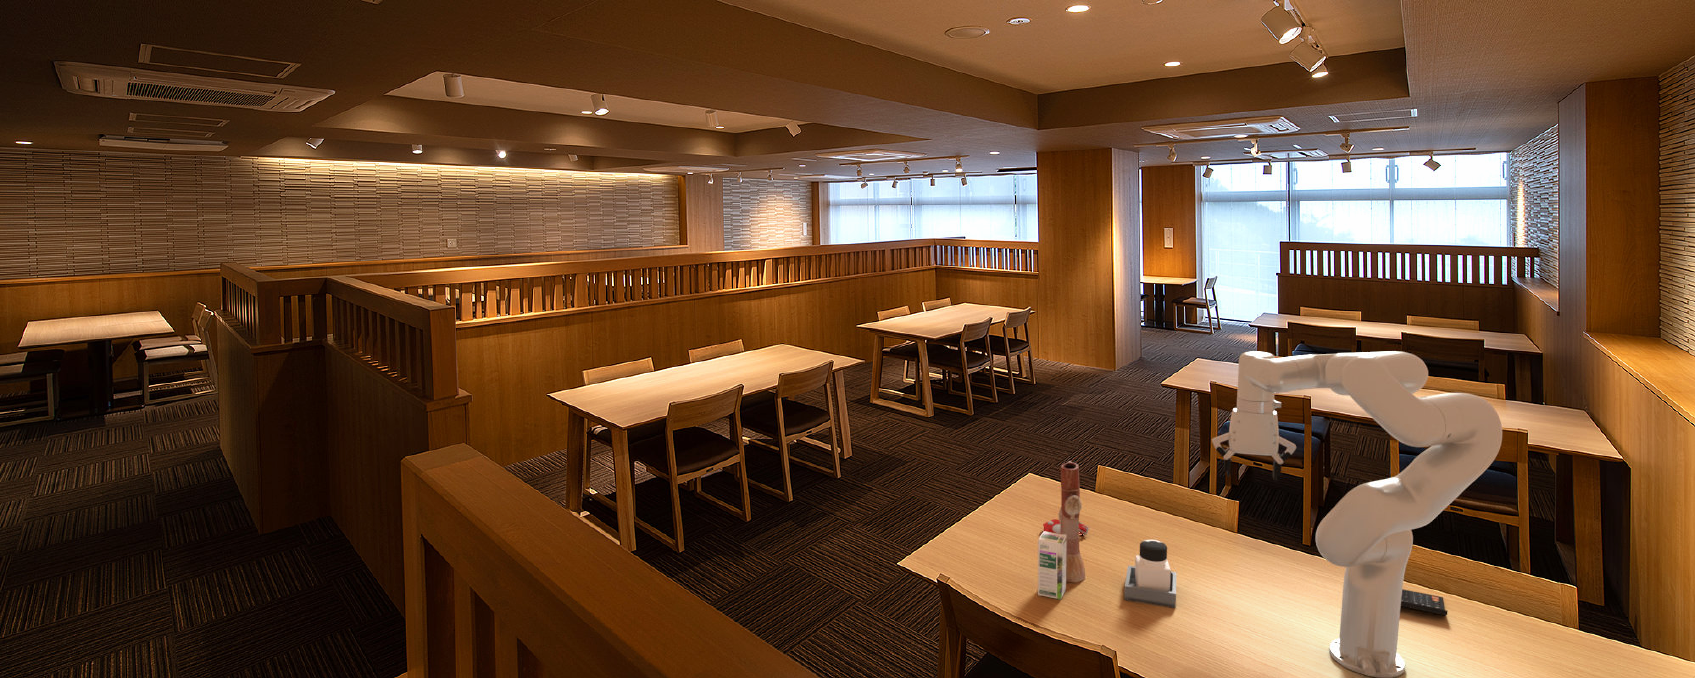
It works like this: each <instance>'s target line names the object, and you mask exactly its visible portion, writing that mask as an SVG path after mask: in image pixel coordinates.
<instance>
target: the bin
mask: <svg viewBox="0 0 1695 678" xmlns="http://www.w3.org/2000/svg"><path fill="white" fill-rule="evenodd" d="M1124 583H1125V584H1124V601H1127V602H1128V601H1129V602H1135V603H1142V604H1148V605H1153V606H1161V607H1167V608H1174V609H1177V608H1176V607H1177V605H1176V603H1177V572H1176V571H1171V592H1170V591H1164V590H1157V589H1151V588H1144V587H1137V586H1136V584H1135V566H1134V565H1127V571H1126V576H1125V582H1124Z"/></svg>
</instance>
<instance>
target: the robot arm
mask: <svg viewBox="0 0 1695 678" xmlns="http://www.w3.org/2000/svg"><path fill="white" fill-rule="evenodd" d="M1237 376H1238V377H1237V393H1236V395H1237V396H1236V407H1234V408H1233V409H1232V411H1231V415H1230V419H1229V429H1228V432H1226V433H1224V434H1221V435H1217V436H1215V437H1213V438H1212V439H1211V442H1212V444H1213V447H1214V449H1216V452H1217V453H1218V454H1219V455H1220V457H1222V458H1223V472H1226V474H1227V475H1226V476H1227V477H1231V476H1232V458H1231V457H1233V455H1235V454H1244V455H1254V456H1255V455H1257V456H1271V457H1272V458H1273V461H1272V464H1273V465H1272V479H1273V480H1274V481H1278V480H1279V479H1278V478H1279V477H1281V475H1282V464H1284V462H1286V461H1287V460H1288V459H1290V458H1291V456H1292V455H1293V453H1295V451H1296V449H1297V446H1296V444H1295V443H1294V442H1291V441H1289V440H1287V439H1286V438H1283V437H1281V436H1280V434H1279V432H1280V431H1279V430H1280V429H1279V421H1278V420H1279V419H1278V418H1279V417H1278V412H1277V411H1276V409H1278V408H1279V409H1281V408H1282V402H1281V401H1277V400H1276V399H1275V394H1279V393H1280V394H1281V393H1289V392H1294V391H1302V390H1312V389H1330V390H1331V391H1332V392H1333V393H1335V394H1337V395H1338V396H1339V395H1340V396H1349V397H1350V398H1351V399H1352V400H1353V401H1354V403H1355V404H1356V405H1358V406H1359V407H1360V408H1361V409H1362V410H1364V412H1365V413H1366V414H1368V416H1369V417H1371V418H1372V419H1373V420H1374V421H1375V422H1376V423H1377V424H1378V425H1380V427H1381V428H1382V429H1384V430H1385V432H1386V433H1388V434H1389V435H1390V436H1391V437H1392V438H1394V439H1396V440H1397V441H1399V442H1400V443H1402V444H1403V445H1406V446H1410V447H1414V448H1424V447H1426V448H1427V447H1428V448H1427V449H1425V450H1424V451H1423V452H1421V453H1420V454H1419V455H1417V456H1416V457H1415V458H1414V459H1413V460H1412V462H1410V464H1409V465H1408V466H1406V468H1404V469H1403V470H1402V471H1401V472H1399V473H1398V474H1397V475H1395V476H1392V477H1388V478H1385V479H1379V480H1374V481H1369V482H1365V483H1361V484H1359V485H1357V486H1356V487H1353V488H1352V489H1351V490H1350V491H1348V492H1347V493H1346V494H1345V495H1344V496H1343V497H1342V498H1341V499H1340V500H1339V501H1338V502H1337V503H1336V504H1335V506H1334V507H1333V508H1331V510H1330V511H1329V512H1328V513H1327V514H1326V516H1325V517H1323V518H1322V520H1321V521H1320V523H1319V524H1318V526H1317V529H1316V532H1315V543H1316V547H1317V550H1318V552H1319V553H1320V555H1321V556H1322V557H1323V558H1324V560H1326V561H1327V562H1329V563H1331V564H1332V565H1334V566H1337V567H1343V568H1344V569H1345V571H1344V576H1343V586H1342V600H1341V613H1340V627H1339V637H1338V638H1337V639H1334V640H1333V641H1331V642H1330V644H1329V653H1330V656H1331V657H1332V659H1334V661H1336V662H1337V663H1338V664H1339V665H1341V666H1343V667H1345V668H1346V669H1347V670H1350V671H1353V672H1355V673H1358V674H1360V673H1361V675H1363V674H1364V676H1368V677H1372V678H1373V677H1374V678H1396V677H1399V676H1400V675H1402V674H1403V673H1405V670H1406V662H1405V660H1404V658H1403V657H1402V656H1401V655H1400V654H1399V653H1398V652H1397V650H1398V640H1399V630H1400V629H1399V628H1400V618H1401V607H1402V606H1401V596H1402V589H1403V586H1404V578H1405V572H1406V567H1407V564H1408V563H1409V562H1408V561H1409V559H1410V558H1409V557H1411V556H1410V555H1411V553H1412V548H1413V543H1414V542H1413V541H1414V535H1413V531H1412V530H1415V529H1419V528H1422V527H1424V526H1427V525H1428V524H1430V523H1431V522H1433V520H1434V519H1436V518H1437V517H1438V515H1440V514H1441V513H1442V512H1443V511H1444V510H1446V508H1447V507H1448V506H1449V505H1450V504H1452V503H1453V501H1455V500H1456V499H1457V498H1458V497H1459V496H1460V495H1462V493H1463V492H1464V491H1465V490H1466V489H1467V488H1468V487H1469V486H1470V485H1472V483H1473V482H1475V481H1476V480H1477V479H1478V478H1479V477H1480V476H1481V475H1483V474H1484V472H1485V471H1486V470H1487V469H1488V468H1489V467H1490V466H1491V464H1493V462H1494V461H1495V459H1496V457H1497V455H1498V454H1499V452H1500V450H1501V449H1500V448H1501V446H1502V442H1503V427H1502V421H1501V418H1500V417H1499V414H1498V412H1497V409H1496V408H1495V407H1494V406H1493V405H1492V403H1490V402H1489V401H1488V400H1486V399H1485V398H1483V397H1481V396H1478V395H1476V394H1472V393H1466V392H1465V393H1464V392H1448V393H1447V392H1446V393H1440V394H1432V395H1426V396H1419V397H1417V396H1415V393H1417V392H1419V391H1420V390H1421V389H1422V388H1423V387H1424V386H1426V383H1427V381H1428V379H1429V370H1428V367H1427V365H1426V364H1425V362H1424V361H1423V359H1421V358H1420V357H1418V356H1417V355H1415V354H1413V353H1411V352H1410V353H1409V352H1405V351H1396V350H1394V351H1393V350H1392V351H1370V352H1368V351H1367V352H1363V351H1362V352H1337V353H1326V354H1322V353H1321V354H1303V355H1293V356H1285V357H1276V356H1275V355H1274V354H1273V353H1270V352H1265V351H1254V350H1253V351H1245V352H1243V353H1241V354H1240V355H1239V358H1238V375H1237ZM1225 441H1227V443H1228V446H1229V447H1227V449H1224V448H1223V446H1221V443H1223V442H1225ZM1279 445H1282V446H1284V447H1286V449H1285V450H1284V451H1283V452H1282V453H1281V454H1280V453H1279Z"/></svg>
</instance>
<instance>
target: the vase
mask: <svg viewBox="0 0 1695 678" xmlns="http://www.w3.org/2000/svg"><path fill="white" fill-rule="evenodd" d="M1059 469H1060V488H1061V489H1060V491H1061V492H1060V493H1061V499H1060V500H1061V503H1060V505H1061V506H1060V508H1059V512H1058V520H1059V521H1060V526H1061V529H1060V534H1065V535H1066V536H1067V540H1066V583H1079V582H1083V581H1084V580H1085V579H1086V571H1085V570H1086V569H1085V564H1084V561H1083V558H1082V554H1081V551H1080V536H1079V522H1080V513H1081V510H1082V501H1081V497H1080V496H1081V495H1080V494H1081V488H1080V486H1081V485H1080V470H1079V469H1080V467H1079V464H1078V463H1075V462H1072V461H1071V460H1069V461H1067V462H1065V463H1063V464H1062V465H1060V468H1059Z"/></svg>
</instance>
